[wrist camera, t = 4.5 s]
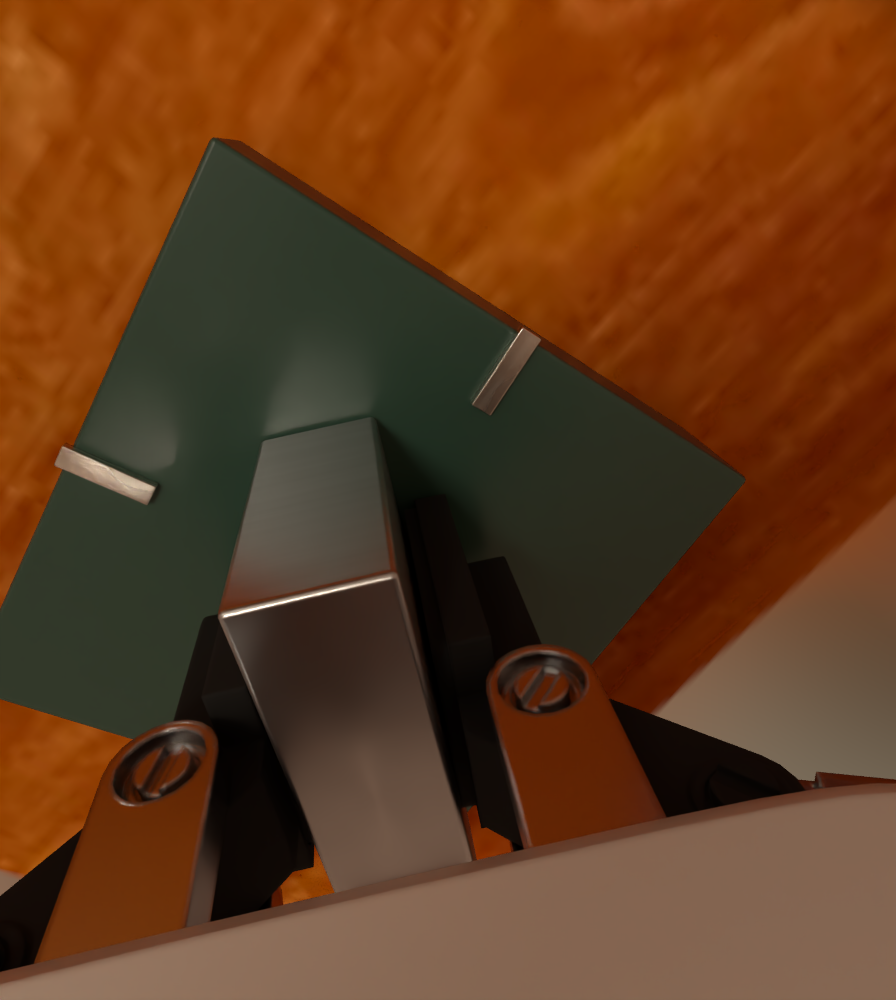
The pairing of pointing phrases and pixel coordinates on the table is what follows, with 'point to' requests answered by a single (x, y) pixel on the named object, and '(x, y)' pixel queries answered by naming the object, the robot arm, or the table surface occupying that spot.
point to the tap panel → (316, 404)
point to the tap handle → (344, 657)
